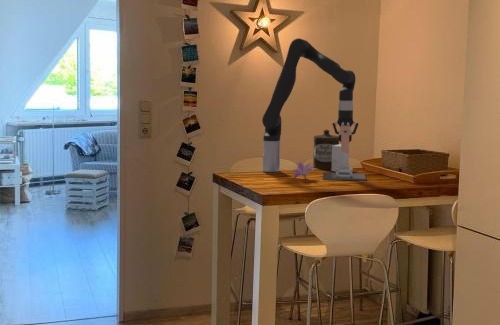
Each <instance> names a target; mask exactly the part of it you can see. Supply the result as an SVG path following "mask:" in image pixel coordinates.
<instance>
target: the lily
mask: <svg viewBox="0 0 500 325" xmlns="http://www.w3.org/2000/svg"><path fill="white" fill-rule="evenodd" d="M311 164H312V162H309V163H307V164H304V163H303V162H302V161H298V162H297V168H295V169H292V170H291V172H293V173H294V175H293V177H292V179H293V178H294V179H297V178H298V177H300V176H301V177H303V178H304V177H305V178H304V179H305V181H307V176H308V175H307V174H308V173H309V172H313V171H315V169H316V168H314V167H311Z"/></svg>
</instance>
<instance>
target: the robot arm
mask: <svg viewBox="0 0 500 325" xmlns="http://www.w3.org/2000/svg"><path fill="white" fill-rule="evenodd" d="M301 58H304V59H307V60H309V61H310V62H312V63H314V64H315V65H316V66H317V67H318V68H319V69H321V70H322V71H323V72H325V73H327V75H329V76H331V77H332V78H333V79H334V80H335V81H336V82H338V83H339V84H341V85H342V88H341V89H340V90H339V94H338V107H337V108H338V110H337V111H338V112H337V113H338V116H337V121H335V122H332V127H333V129H334V133H335V134H336V135H337V136H339V143H341V128H342V126H344V125H346V126H349V143H351V141H352V140H353V137H352V136H353V135H355V134H356V133H357V130H358V127H359V122H356V121H354V89H355V84H356V78H357V77H356V74H355V73H354V71H352V70H350V69H349V70H345V69H343V68H342V67H341V65H340V64H339V63H338V62H336V61H334V60H332V59H331V58H330V57H328V56H326V55H325V54H323V53H321V52H320V51H318V50H317V49H316V48H315V47H314V46H313V45H312V44H311V43H310V42H309V41H308V40H305V39H303V38H299V37H297V38H294V39H293V40H292V41H291V42H290V45H289V47H288V51H287V54H286V58H285V62H284V64H283V67H282V69H281V71H280V75H279V77H278V79H277V81H276V84H275V87H274V90H273V92H272V95H271V99H270V102H269V104H268V106H267V109H266V110H265V112H264V114H263V116H262V120H261V122H262V126H264V134H263V138H262V139H263V142H262V143H263V149H262V150H263V154H262V172H265V173H266V172H267V173H278V172H280V171H281V154H280V153H281V135H282V117H281V112H282V109H283V106H284V105H285V103H286V102H287V101H288V99H289V97H290V95H291V93H292V92H293V89H294V86H295V84H296V80H297V67H298V63H299V61H300V59H301ZM337 126H339V131H338V130H337V129H338V128H337ZM352 126H353V127H354V128H353V130H351V127H352Z"/></svg>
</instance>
